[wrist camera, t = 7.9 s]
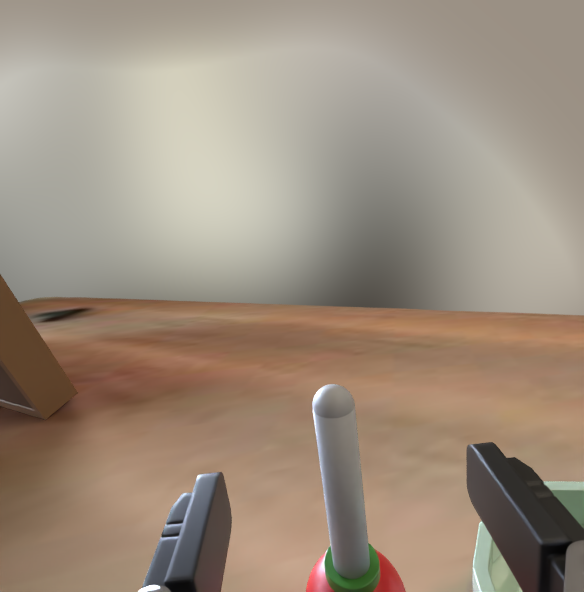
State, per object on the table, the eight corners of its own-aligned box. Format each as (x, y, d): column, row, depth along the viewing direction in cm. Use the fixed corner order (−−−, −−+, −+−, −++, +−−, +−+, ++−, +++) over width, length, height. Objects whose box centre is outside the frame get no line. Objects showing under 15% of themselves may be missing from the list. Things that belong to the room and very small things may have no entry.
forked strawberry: (331, 733, 15) (285, 439, 12) (302, 616, 20) (261, 374, 16) (432, 690, 16) (420, 403, 12) (383, 586, 21) (363, 351, 17)
